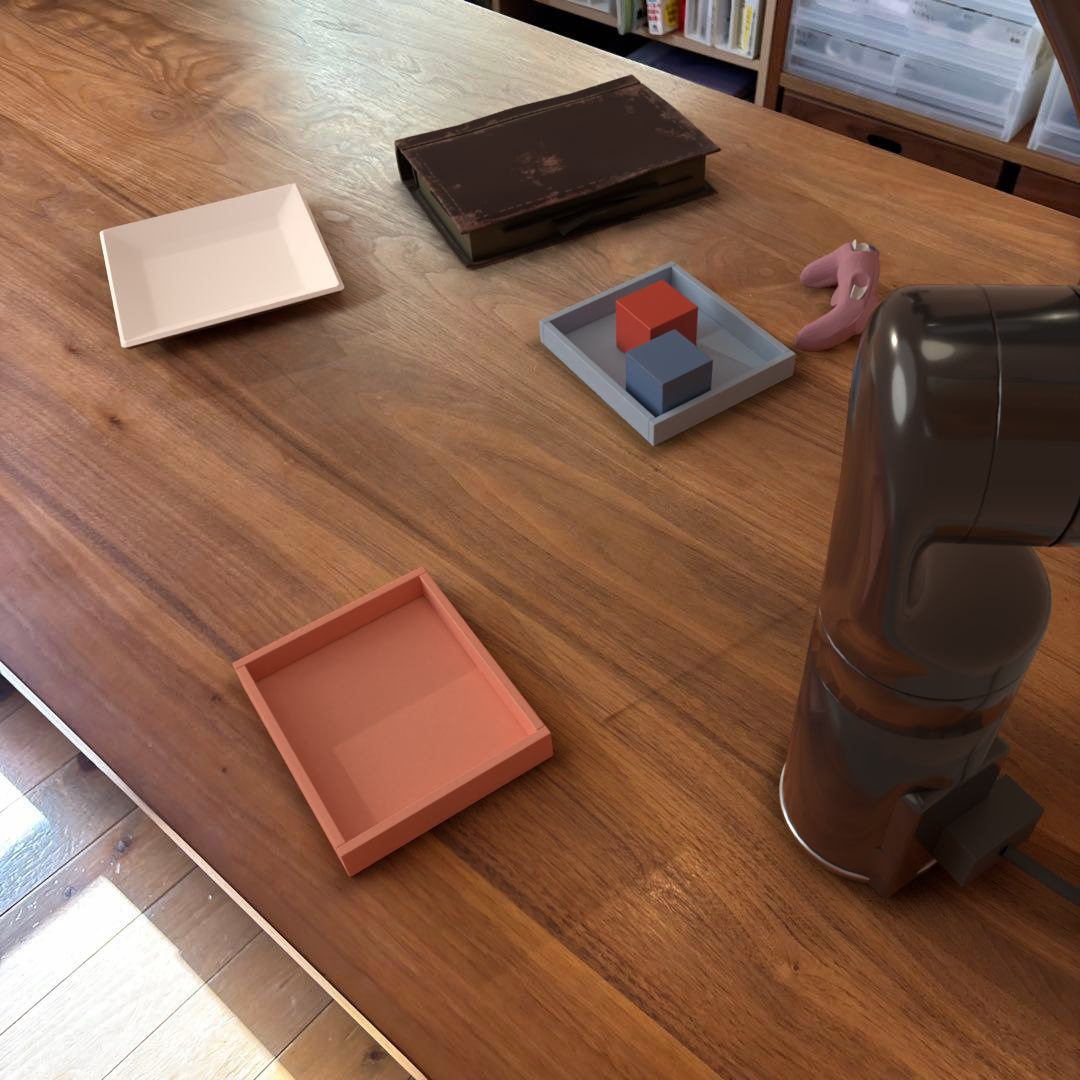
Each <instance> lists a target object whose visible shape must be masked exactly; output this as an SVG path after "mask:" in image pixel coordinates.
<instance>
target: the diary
mask: <svg viewBox="0 0 1080 1080" xmlns="http://www.w3.org/2000/svg"><path fill="white" fill-rule="evenodd" d="M393 143H394V145H393V146H394V151H395V153H394V154H395V160H396V164H397V170H398V175H399V179H400V182H401V184H402V185H403V186H404V188H405V189H406V190H407V192H408V193H409V195H410V196H411V198H412V199H413V201H414V202H415V203H416V205H417V206H418V207H419V208H420V210H421V212H422V213H423V215H425V217H426V218H427V220H428V221H429V222H430V224H431V225H432V226H433V229H435V231H436V232H437V234H438V235H439V236H440V238H441V239H442V240H443V242H444V243H445V245H446V246H447V247H448V248H449V250H450V251H451V252H452V253H453V255H454V256H455V257H456V259H457V260H458V261H459V262H460V264H461V265H462V267H465V268H467V269H479V268H482V267H487V266H490V265H494V264H497V263H500V262H501V263H502V262H504V261H507V260H510V259H515V258H518V257H521V256H525V255H527V254H532V253H535V252H538V251H540V250H543V249H546V248H550V247H552V246H556V245H558V244H562V243H565V242H568V241H570V240H574V239H576V238H579V237H582V236H584V235H587V234H590V233H593V232H597V231H601V230H606V229H609V228H613V227H616V226H620V225H624V224H626V223H627V224H628V223H629V222H632V221H635V220H639V219H641V218H642V217H641V216H644V215H648V214H650V213H654V212H659V211H665V210H669V209H673V208H677V207H680V206H683V205H686V204H690V203H693V202H697V201H699V200H703V199H706V198H710V197H712V196H715V195H719V191H717V190H716V188H714V187H713V186H712V185H711V184H710V183H709V182H707V181H706V161H707V156H710V155H713V154H717V153H720V152H721V151H722V148H721V147H720V146H719V145H718V144H716V143H715V142H714V141H713V140H712V139H711V138H709V137H708V136H707V134H705V133H704V131H702V130H701V129H700V128H699V127H697V125H696V124H694V123H693V122H692V121H691V120H689V119H688V118H687V117H686V116H685V115H683V114H682V112H680V111H679V110H678V109H677V108H676V107H675V106H673V105H672V104H671V103H669V102H668V101H667V100H666V99H664V97H661V96H660V95H659V94H658V93H656V92H655V91H654V90H652V89H651V88H649V87H648V86H647V85H646V84H644V83H643V82H641V81H640V79H638V78H637V77H636V76H635V75H634V74H632V73H631V74H628V75H624V76H621V77H618V78H614V79H612V80H609V81H606V82H605V81H604V82H602V83H598V84H595V85H593V86H590V87H586V88H583V89H579V90H577V91H574V92H573V91H572V92H571V93H567V94H562V95H558V96H553V97H551V98H545V99H542V100H538V101H534V102H529V103H526V104H522V105H517V106H513V107H510V108H507V109H503V110H501V111H498V112H493V113H491V114H488V115H484V116H482V117H478V118H476V119H472V120H469V121H466V122H462V123H460V124H456V125H452V126H448V127H444V128H441V129H435V130H431V131H427V132H423V133H419V134H414V135H410V136H406V137H402V138H398V139H394V142H393Z"/></svg>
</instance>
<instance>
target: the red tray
mask: <svg viewBox="0 0 1080 1080" xmlns="http://www.w3.org/2000/svg"><path fill="white" fill-rule="evenodd" d="M232 666H233V668H234V670H235V672H236V675H237V677H238V679H239V682H240V683H241V685H242V687H243V689H244V691H245V693H246V695H247V697H248V699H249V700H250V701H251V703H252V705H253V707H254V709H255V711H256V712H257V714H258V716H259V718H260V719H261V721H262V723H263V725H264V726H265V729H266V730H267V732H268V734H269V736H270V737H271V740H272V741H273V743H274V744H275V746H276V749H277V750H278V751H279V753H280V755H281V757H282V759H283V760H284V762H285V765H286V766H287V768H288V769H289V772H290V773H291V776H292V777H293V779H294V781H295V783H296V784H297V786H298V788H299V789H300V791H301V793H302V795H303V797H304V798H305V800H306V802H307V804H308V805H309V808H310V809H311V811H312V812H313V814H314V816H315V818H316V820H317V821H318V823H319V825H320V827H321V829H322V830H323V832H324V834H325V835H326V837H327V840H328V841H329V843H330V845H331V846H332V848H333V850H334V853H336V855H337V857H338V859H339V860H340V862H341V864H342V866H343V867H344V869H345V871H346V873H347V875H348V877H350V878H351V877H353V876H355V875H357V874H358V873H360V872H362V871H364V870H366V868H368V867H370V866H372V865H373V864H375V863H377V862H378V861H380V860H381V859H383V858H385V857H387V856H388V855H390V854H391V853H393V852H395V851H397V850H398V849H400V848H401V847H404V846H405V845H406V844H408V843H410V842H411V841H413V840H416V838H418V837H420V836H421V835H423V834H425V833H426V832H428V831H430V830H431V829H433V828H436V827H437V826H438V825H440V824H441V823H443V822H445V821H447V820H448V819H450V818H451V817H453V816H455V815H457V814H458V813H460V812H461V811H463V810H465V809H466V808H468V807H470V806H472V805H473V804H475V803H476V802H478V801H479V800H482V799H483V798H485V797H487V796H488V795H490V794H491V793H493V792H495V791H496V790H498V789H500V788H502V787H504V786H505V785H506V784H508V783H510V782H511V781H513V780H515V779H517V778H519V777H520V776H521V775H523V774H526V773H527V772H528V771H530V770H531V769H533V768H535V767H537V766H538V765H540V764H541V763H543V762H545V761H546V760H548V759H550V758H552V757H554V752H553V751H554V749H553V739H552V732H551V731H550V729H548V727H547V726H546V725H545V723H544V722H543V720H541V718H540V716H538V714H537V713H536V712H535V710H534V709H533V708H532V707H531V705H530V704H529V702H528V700H526V698H525V697H524V696H523V695H522V694H521V692H520V691H519V689H518V688H517V687H516V686H515V684H514V683H513V682H512V681H511V679H510V677H509V676H508V675H507V674H506V672H505V671H504V670H503V669H502V667H501V666H500V665H499V664H498V662H497V661H496V659H495V658H494V657H493V656H492V654H491V653H490V652H489V651H488V649H487V648H486V647H485V645H484V644H483V643H482V641H481V640H480V639H479V638H478V636H477V635H476V634H475V632H474V631H473V629H472V628H471V627H470V626H469V625H468V623H467V622H466V620H464V618H463V617H462V616H461V614H460V613H459V611H458V610H457V609H456V608H455V606H454V605H453V604H452V603H451V601H450V600H449V599H448V597H447V596H446V594H444V592H443V591H442V589H441V588H440V587H439V586H438V584H437V583H436V582H435V581H434V579H433V577H432V576H431V575H430V574H429V573H428V571H427V570H426V569H425V567H424V566H420V567H418V568H416V569H413V570H412V571H410V572H408V573H406V574H404V575H402V576H400V577H398V578H396V579H394V580H392V581H391V582H388V583H387V584H384V585H382V586H381V587H379V588H377V589H375V590H373V591H370V592H368V593H367V594H365V595H363V596H361V597H359V598H357V599H355V600H353V601H351V602H349V603H347V604H346V605H343V606H341V607H339V608H338V609H336V610H333V611H331V612H329V613H328V614H326V615H324V616H322V617H320V618H318V619H316V620H314V621H311V622H310V623H308V624H306V625H304V626H302V627H301V628H299V629H296V630H295V631H293V632H290V633H289V634H287V635H285V636H282V637H280V638H279V639H277V640H275V641H273V642H271V643H269V644H267V645H265V646H263V647H260V648H259V649H258V650H255V651H254V652H251V653H249V654H248V655H245V656H244V657H242V658H240V659H238V660H235V661H234V662H232Z"/></svg>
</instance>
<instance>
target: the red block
mask: <svg viewBox="0 0 1080 1080" xmlns="http://www.w3.org/2000/svg"><path fill="white" fill-rule="evenodd" d="M697 322H698V307H697V306H696V305H695V304H694V303H692V302H691V301H690V300H688V299H687V298H686V297H685V296H683V295H682V294H681V293H679V292H678V291H677V290H676V289H674V288H673V287H672V286H670V285H669V284H668V283H667V282H665V281H664V280H660V281H658V282H656V283H654V284H651V285H649V286H647V287H645V288H643V289H640V290H638V291H636V292H634V293H631V294H629V295H627V296H625V297H623V298H620V299H618V300H616V347H617V348H618V349H619V350H621V351H622V352H623V353H624V354H625V355H626V352H627V351H629V350H631V349H634V348H636V347H638V346H640V345H642V344H644V343H646V342H648V341H650V340H653V339H655V338H657V337H659V336H661V335H663V334H665V333H667V332H670V331H672V330H674V329H676V330H677V331H678V332H679V333H681V334H682V335H683V336H684V337H685V338H687V339H688V340H689V341H690V342H692V343H693V344H694V345H695V346H696V341H697Z"/></svg>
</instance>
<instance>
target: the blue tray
mask: <svg viewBox="0 0 1080 1080" xmlns="http://www.w3.org/2000/svg"><path fill="white" fill-rule="evenodd" d="M660 280H664V281H665V282H667V283H668V284H669V285H670V286H672V287H673V288H674V289H676V290H677V291H678V292H679V293H681V294H682V295H683V296H685V297H686V298H687V299H688V300H690V301H691V302H692V303H694V304H695V305H696V306H697V307H698V322H697V341H696V346H697V347H698V348H699V349H700V350H701V351H703V352H704V353H705V354H706V355H708V356H709V357H710V358H711V359H713V368H712V382H711V390H710V391H708V392H706V393H704V394H702V395H700V396H698V397H696V398H694V399H692V400H690V401H688V402H686V403H684V404H682V405H680V406H678V407H676V408H674V409H672V410H670V411H668V412H666V413H664V414H662V415H660V416H658V417H656V418H655V417H654V416H653V415H652V414H651V413H650V412H649V411H648V410H646V409H645V408H644V407H643V406H642V405H641V404H640V403H639V402H638V401H636V400H635V399H634V398H633V397H632V396H631V395H630V394H629V393H628V392H626V355H625V354H624V353H623V352H622V351H621V350H619V349H618V348H617V347H616V300H618V299H620V298H623V297H625V296H627V295H629V294H631V293H634V292H636V291H638V290H640V289H643V288H645V287H647V286H649V285H651V284H654V283H656V282H658V281H660ZM538 325H539V336H540V338H539V339H540V342H541V343H542V345H544V346H545V347H546V349H548V350H549V351H550V352H552V353H553V354H554V355H555V357H557V358H558V359H559V360H560V361H561V362H563V364H564V365H565V366H566V367H568V369H570V370H571V371H572V372H573V374H575V375H576V376H577V377H578V378H580V379H581V381H583V382H584V383H585V384H586V385H587V386H588V387H589V388H590V389H591V390H592V391H594V393H596V394H597V395H598V397H600V398H601V399H602V400H603V401H604V402H605V403H606V404H607V405H609V406H610V407H611V409H613V411H615V412H616V413H617V414H618V415H619V416H620V417H621V418H622V419H623V420H624V421H626V422H627V423H628V424H629V425H630V426H631V427H632V428H633V429H634V430H635V431H636V432H638V433H639V434H640V436H642V437H643V438H644V439H645V440H646V441H647V442H648V443H650V444H651V446H653V447H655V446H657V445H659V444H661V443H663V442H665V441H666V440H669V439H671V438H673V437H675V436H677V435H678V434H680V433H683V432H684V431H686V430H688V429H690V428H692V427H695V426H696V425H698V424H700V423H702V422H705V421H706V420H708V419H710V418H712V417H714V416H716V415H718V414H720V413H721V412H723V411H726V410H728V409H730V408H732V407H733V406H735V405H737V404H739V403H741V402H743V401H746V400H747V399H749V398H752V397H753V396H756V395H757V394H759V393H761V392H762V391H764V390H765V391H766V390H767V389H768V388H771V387H773V386H775V385H776V384H779V383H780V382H782V381H785V380H786V379H788V378H790V377H792V376H794V371H795V363H796V357H797V353H795V352H794V351H793V350H792V349H790V348H789V347H788V346H786V345H785V344H783V343H782V342H781V341H780V340H778V339H777V338H775V336H773V335H772V334H770V333H769V332H768V331H766V330H765V329H764V328H762V327H761V326H759V325H758V324H757V323H756V322H754V321H753V320H751V318H749V317H748V316H746V315H745V314H744V313H742V312H741V311H740V310H739V309H738V308H736V307H734V306H733V304H730V303H729V302H728V301H726V300H725V299H724V298H723V297H722V296H720V295H718V293H716V292H715V291H713V290H712V289H711V288H709V287H708V286H707V285H705V284H704V283H703V282H702V281H700V280H698V278H696V277H695V276H694V275H692V274H691V273H690V272H688V271H687V270H685V269H684V268H682V267H681V266H680V265H679V264H678V263H677V262H674V260H671V261H669V262H667V263H665V264H662V265H660V266H657V267H656V268H654V269H651V270H649V271H647V272H645V273H642V274H641V275H637V276H636V277H633V278H631V279H629V280H627V281H624V282H623V283H620V284H618V285H615V286H613V287H610V288H609V289H606V290H604V291H602V292H599V293H597V294H595V295H593V296H591V297H589V298H585V299H583V300H582V301H579V302H577V303H575V304H573V305H570V306H569V307H566V308H564V309H561V310H559V311H558V312H554V313H553V314H551V315H548V316H546V317H543V318H542V319H539V321H538Z"/></svg>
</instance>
